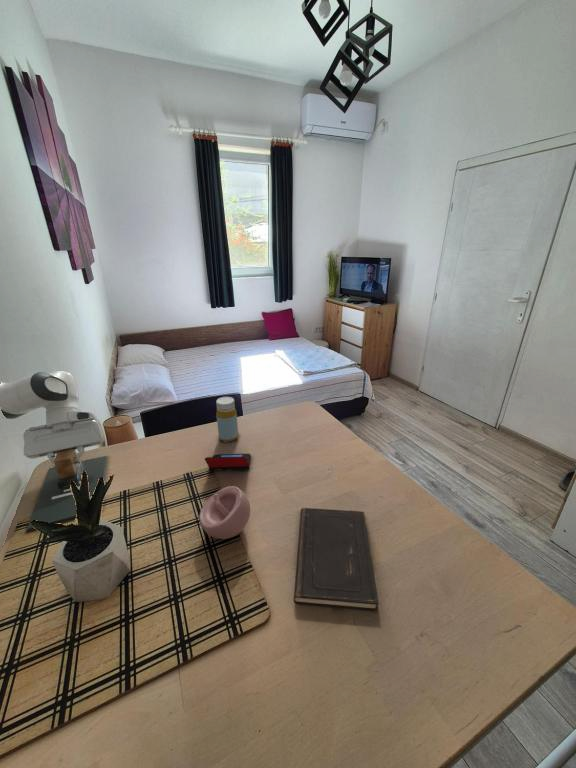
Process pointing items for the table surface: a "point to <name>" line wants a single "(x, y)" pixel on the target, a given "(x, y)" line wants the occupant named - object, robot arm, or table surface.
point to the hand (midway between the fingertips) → (67, 465)
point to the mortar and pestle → (225, 513)
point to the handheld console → (228, 462)
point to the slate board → (64, 494)
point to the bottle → (226, 419)
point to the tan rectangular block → (67, 467)
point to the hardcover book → (334, 561)
